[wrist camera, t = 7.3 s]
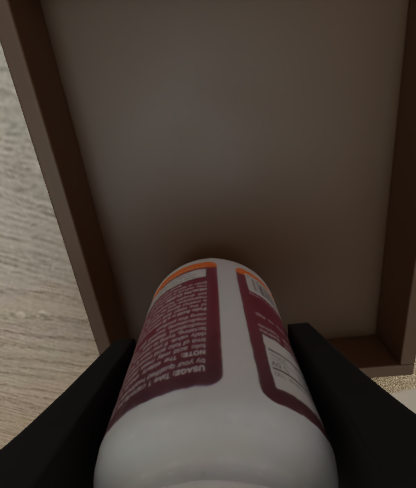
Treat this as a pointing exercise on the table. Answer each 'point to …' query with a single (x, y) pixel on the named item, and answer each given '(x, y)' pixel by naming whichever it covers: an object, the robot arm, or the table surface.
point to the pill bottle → (214, 393)
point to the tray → (231, 154)
